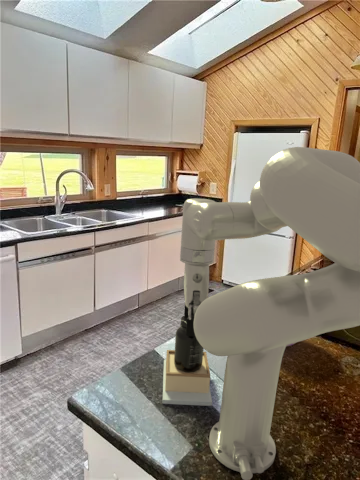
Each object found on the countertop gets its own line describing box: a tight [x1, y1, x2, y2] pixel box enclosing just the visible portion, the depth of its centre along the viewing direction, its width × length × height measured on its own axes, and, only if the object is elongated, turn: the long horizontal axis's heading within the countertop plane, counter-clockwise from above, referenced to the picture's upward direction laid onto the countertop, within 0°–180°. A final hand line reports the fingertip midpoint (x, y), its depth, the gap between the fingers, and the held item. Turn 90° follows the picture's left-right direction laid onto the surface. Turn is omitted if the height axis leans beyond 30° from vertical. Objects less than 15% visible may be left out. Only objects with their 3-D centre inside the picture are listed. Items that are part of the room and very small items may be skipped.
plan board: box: [161, 349, 213, 407], centre depth 85 cm, size 16×11×6 cm
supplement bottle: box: [174, 314, 205, 372], centre depth 83 cm, size 7×7×12 cm
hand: (191, 325), depth 82 cm, fingers open, 9 cm apart
